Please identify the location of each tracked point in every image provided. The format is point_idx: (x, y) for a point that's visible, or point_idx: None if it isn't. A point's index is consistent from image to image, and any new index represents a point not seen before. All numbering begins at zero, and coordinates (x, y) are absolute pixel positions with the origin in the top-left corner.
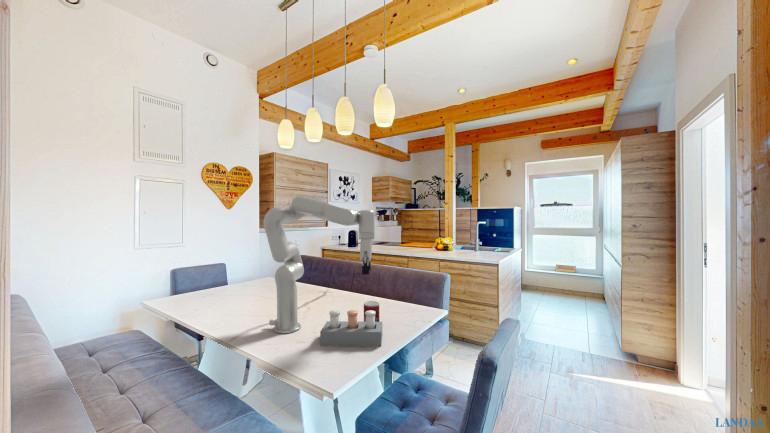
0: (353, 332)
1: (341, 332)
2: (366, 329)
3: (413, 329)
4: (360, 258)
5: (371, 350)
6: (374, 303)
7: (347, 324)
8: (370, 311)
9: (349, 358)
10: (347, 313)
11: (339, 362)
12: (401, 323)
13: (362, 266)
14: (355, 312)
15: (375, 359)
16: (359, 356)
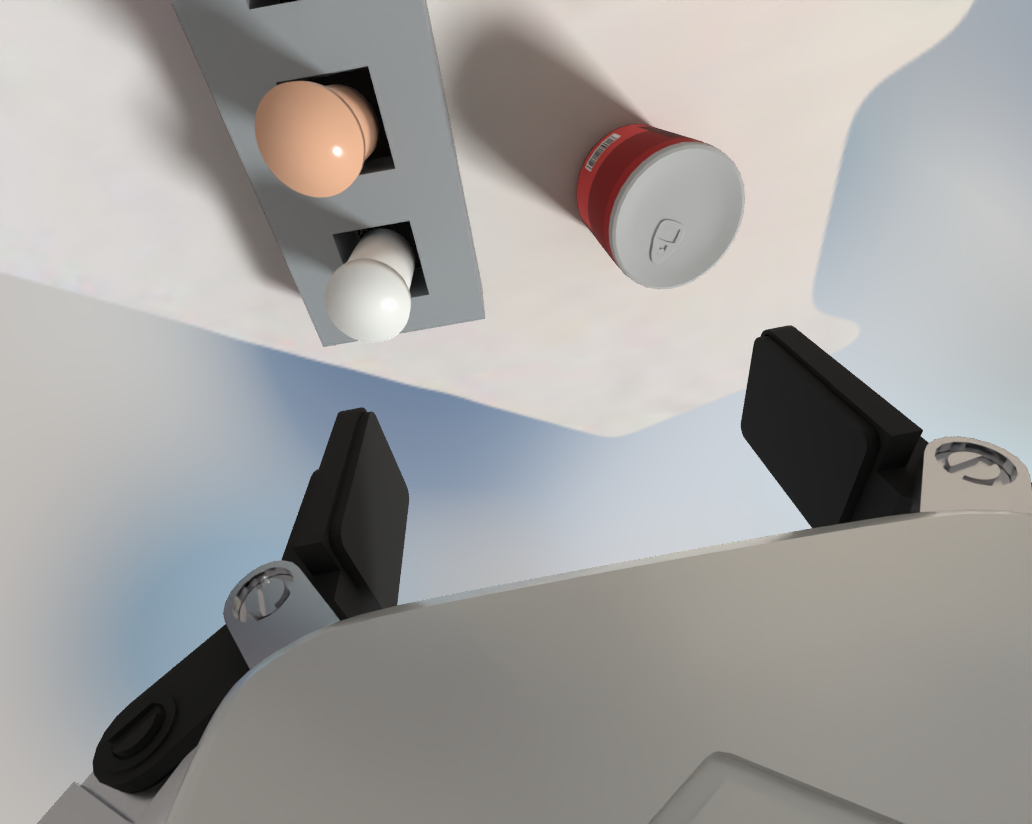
0: (246, 170)
1: (199, 62)
2: (326, 252)
3: (572, 414)
4: (192, 765)
5: (274, 276)
6: (690, 243)
7: (363, 62)
8: (380, 303)
9: (124, 182)
10: (271, 91)
11: (43, 135)
12: (648, 353)
13: (301, 536)
14: (307, 179)
15: (197, 318)
16: (178, 232)
